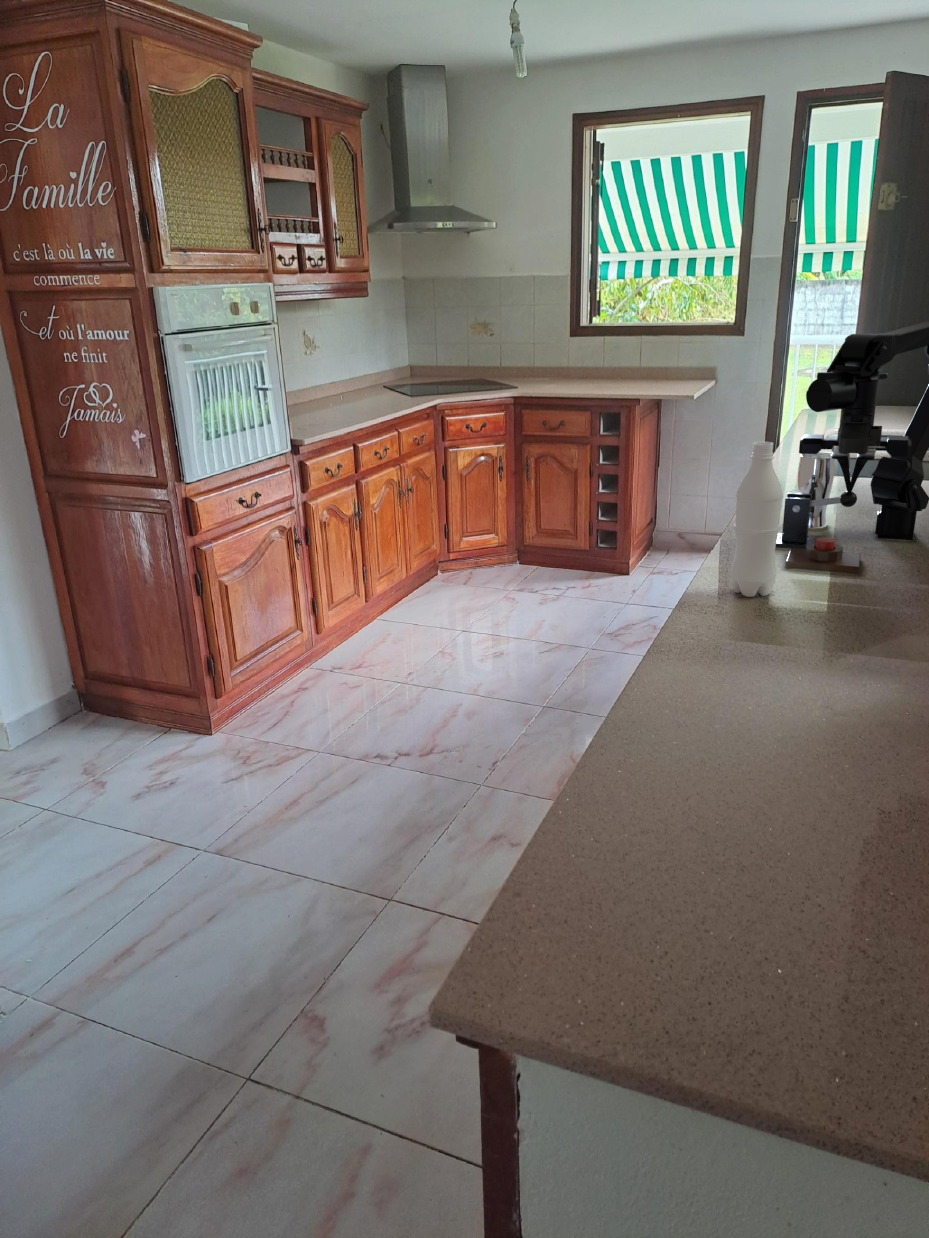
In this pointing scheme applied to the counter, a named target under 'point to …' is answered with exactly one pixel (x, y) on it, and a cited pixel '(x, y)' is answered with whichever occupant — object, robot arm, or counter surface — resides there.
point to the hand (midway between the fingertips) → (849, 491)
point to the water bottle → (757, 525)
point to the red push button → (825, 544)
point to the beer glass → (816, 483)
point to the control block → (823, 559)
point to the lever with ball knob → (836, 500)
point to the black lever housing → (796, 522)
